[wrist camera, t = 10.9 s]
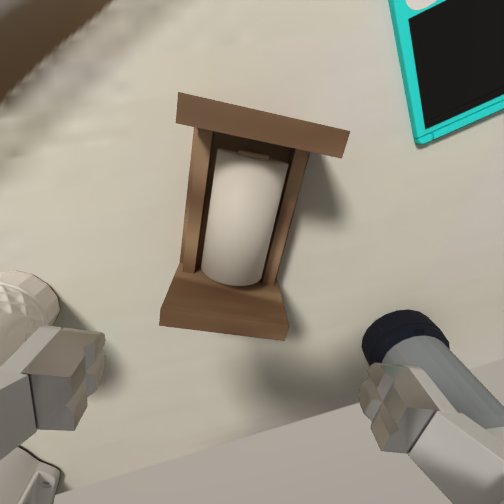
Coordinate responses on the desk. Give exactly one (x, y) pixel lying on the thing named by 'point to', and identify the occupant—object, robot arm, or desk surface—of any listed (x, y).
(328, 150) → the holder
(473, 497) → the robot arm
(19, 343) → the white cup
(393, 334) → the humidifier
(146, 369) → the desk surface
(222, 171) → the roll
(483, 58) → the handheld game console
